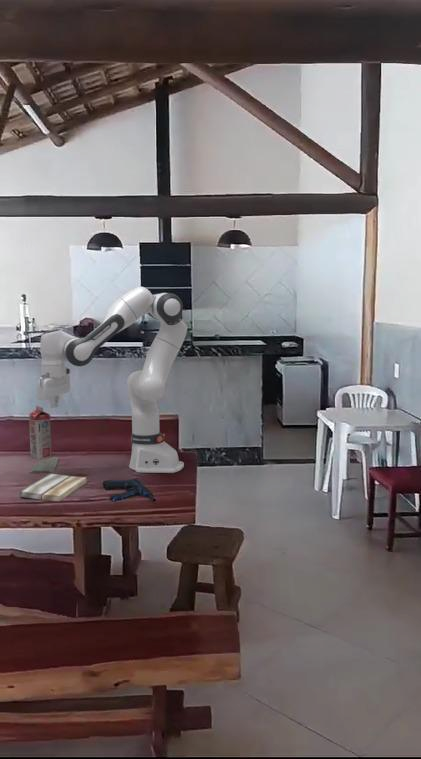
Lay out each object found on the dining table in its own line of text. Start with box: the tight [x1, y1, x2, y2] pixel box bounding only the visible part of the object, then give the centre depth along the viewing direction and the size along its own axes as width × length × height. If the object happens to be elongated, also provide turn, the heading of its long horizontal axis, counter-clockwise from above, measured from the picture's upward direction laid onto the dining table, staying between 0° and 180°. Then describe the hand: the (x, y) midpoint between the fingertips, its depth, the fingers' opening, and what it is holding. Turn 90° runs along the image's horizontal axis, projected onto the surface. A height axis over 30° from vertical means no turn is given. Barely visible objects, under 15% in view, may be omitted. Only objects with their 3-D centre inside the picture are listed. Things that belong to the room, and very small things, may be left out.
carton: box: [28, 405, 53, 460], centre depth 280 cm, size 7×7×22 cm
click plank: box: [19, 473, 69, 500], centre depth 235 cm, size 8×22×2 cm, turn 167°
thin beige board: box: [41, 475, 87, 502], centre depth 233 cm, size 7×22×2 cm, turn 167°
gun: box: [102, 478, 157, 502], centre depth 230 cm, size 24×3×15 cm
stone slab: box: [28, 456, 60, 474], centre depth 267 cm, size 22×3×10 cm
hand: (54, 407), depth 249 cm, fingers closed
